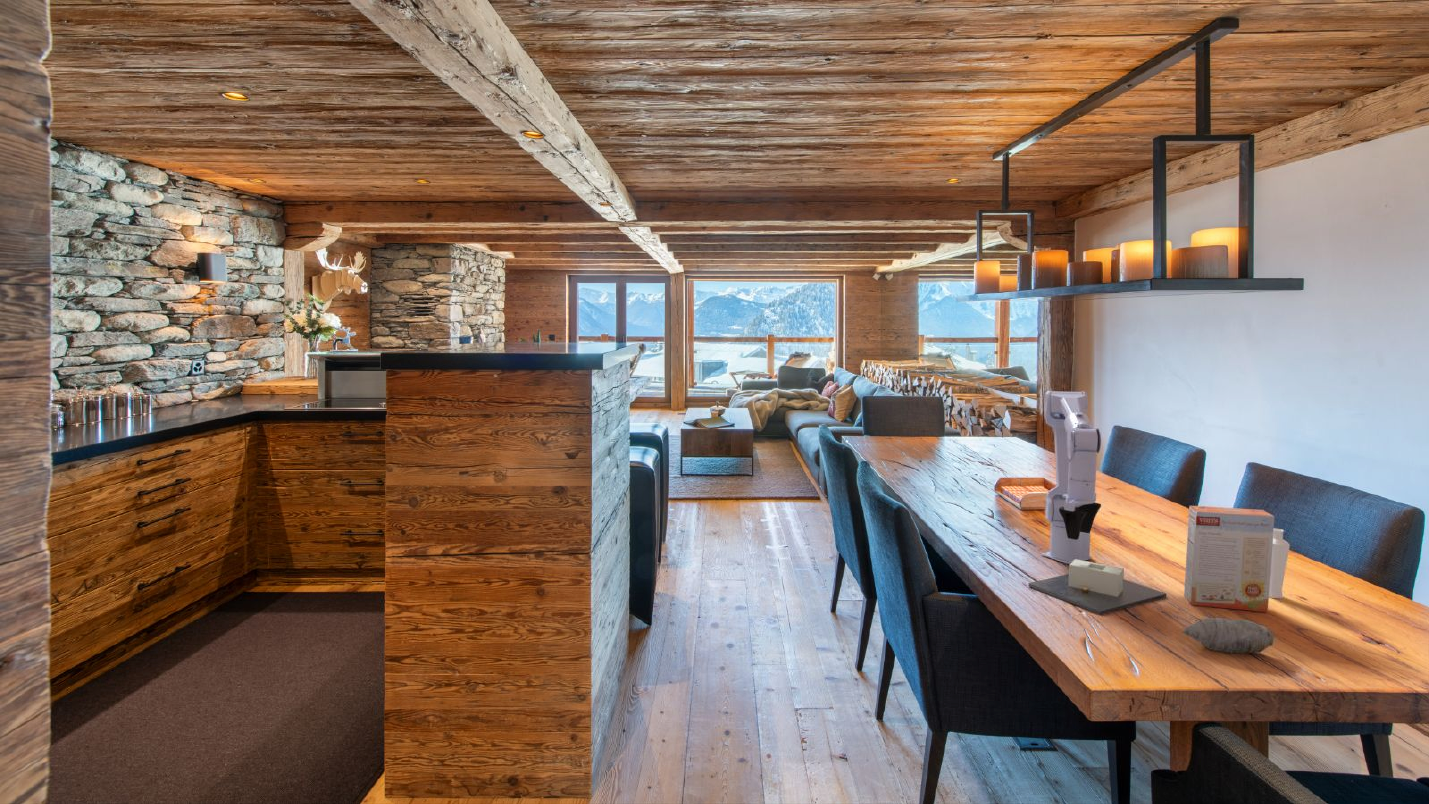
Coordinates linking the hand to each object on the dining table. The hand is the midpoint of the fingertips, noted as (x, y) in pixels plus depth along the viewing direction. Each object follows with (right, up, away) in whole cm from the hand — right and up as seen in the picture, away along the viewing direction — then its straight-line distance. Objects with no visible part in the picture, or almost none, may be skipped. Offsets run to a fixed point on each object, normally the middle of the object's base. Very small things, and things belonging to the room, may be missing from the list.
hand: (1078, 535), depth 168 cm
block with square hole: (0, -11, -7) cm, 13 cm away
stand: (0, -11, -7) cm, 14 cm away
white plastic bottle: (+38, -12, -10) cm, 41 cm away
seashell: (+8, -15, -36) cm, 40 cm away
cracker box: (+24, -12, -15) cm, 30 cm away
